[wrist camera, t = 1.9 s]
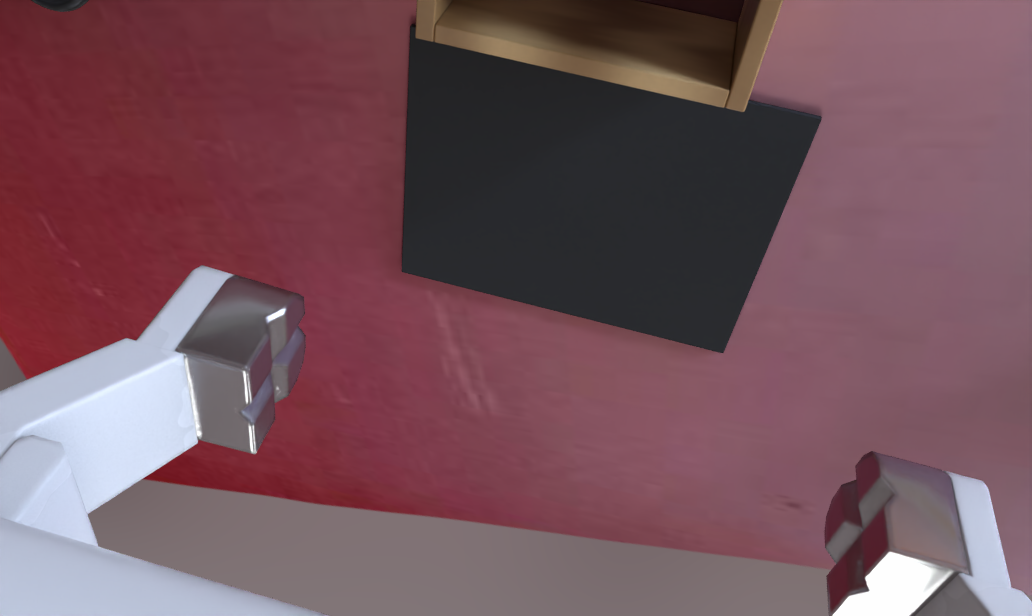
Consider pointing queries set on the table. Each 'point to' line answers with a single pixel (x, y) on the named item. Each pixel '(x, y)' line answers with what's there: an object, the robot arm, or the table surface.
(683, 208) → the mat
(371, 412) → the table surface
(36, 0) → the milk frother
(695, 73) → the pine box
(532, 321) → the table surface
